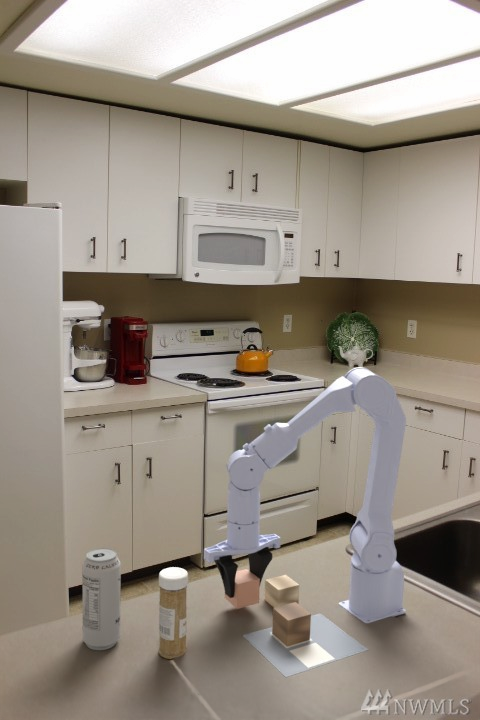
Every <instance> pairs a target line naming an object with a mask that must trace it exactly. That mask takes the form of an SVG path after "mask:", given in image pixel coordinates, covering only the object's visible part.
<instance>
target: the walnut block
mask: <svg viewBox="0 0 480 720" xmlns="http://www.w3.org/2000/svg"><path fill="white" fill-rule="evenodd" d="M311 616H312V614H311V613H310V612H309V611H308V610H306V609H305V608H304V607H303V606H301V605H300V604H297V603H296V602H294V603H290V604H286V605H283V606H279V607H275V608H274V607H272V624H271V625H272V626H271V627H272V634H273V635H275V636H276V637H277V638H278V639H279V640H280V641H281V642H282V643H284V644H285V645H286V646H287V647H288V646H291V645H294V644H298V643H301V642H304V641H307V640H310V625H311Z"/></svg>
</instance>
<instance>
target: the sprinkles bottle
mask: <svg viewBox="0 0 480 720" xmlns="http://www.w3.org/2000/svg"><path fill="white" fill-rule="evenodd" d="M188 583H189V573H188V571H187V570H186V569H184V568H181V567H178V566H177V567H176V566H175V567H174V566H172V567H171V566H170V567H167V568H163V569H162V570H161V571H160V572H159V574H158V585H159V586H158V587H159V603H158V604H159V605H158V608H159V609H158V611H159V613H158V634H159V647H158V654H159V655H160V657H161V658H163V659H167V660H173V658H179V657H182V656H183V655H184V654H186V653H187V649H188V648H187V614H188V613H187V610H188V607H187V591H188V590H187V588H188Z"/></svg>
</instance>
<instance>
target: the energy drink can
mask: <svg viewBox="0 0 480 720" xmlns="http://www.w3.org/2000/svg"><path fill="white" fill-rule="evenodd" d="M85 556H86V558H85V559H84V561H83V562H82V572H81V573H82V582H81V583H82V586H81V587H82V589H81V590H82V641H83V642H84V643H85V645H86V646H87V647H88V648H89V649H91V650H94V651H105V650H108V649H111V648H113V647H114V646H116V645H117V643H118V641H119V640H120V638H121V612H122V611H121V602H122V600H121V596H122V595H121V592H122V590H121V589H122V588H121V584H122V583H121V582H122V579H121V578H122V577H121V575H122V574H121V573H122V572H121V571H122V569H121V568H122V567H121V566H122V564H121V560H120V559H119V557H118V553H117V551H116V550H114V549H112V548H108V547H107V548H106V547H105V548H104V547H100V548H95V549H94V548H93V549H92V550H89V551H88V552H87V553H86V555H85Z"/></svg>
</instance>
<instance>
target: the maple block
mask: <svg viewBox="0 0 480 720" xmlns="http://www.w3.org/2000/svg"><path fill="white" fill-rule="evenodd" d="M264 600H265V602H266V603H268V605H269V606H271V607H272V608H275V607H279V606H283V605H286V604H290V603H294V602H296V603H297V604H299V603H300V602H299V601H300V584H299V583H297V582H296V581H295V580H294V579H292V578H291V577H289V576H288V575H287V574H283V575H279V576H275V577H270V578H267V579H265V580H264ZM299 605H300V604H299Z"/></svg>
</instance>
